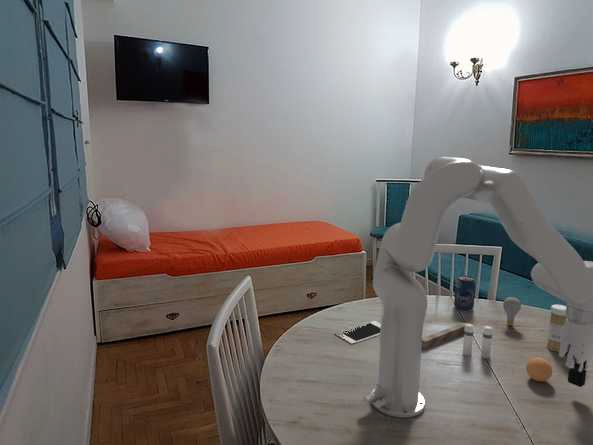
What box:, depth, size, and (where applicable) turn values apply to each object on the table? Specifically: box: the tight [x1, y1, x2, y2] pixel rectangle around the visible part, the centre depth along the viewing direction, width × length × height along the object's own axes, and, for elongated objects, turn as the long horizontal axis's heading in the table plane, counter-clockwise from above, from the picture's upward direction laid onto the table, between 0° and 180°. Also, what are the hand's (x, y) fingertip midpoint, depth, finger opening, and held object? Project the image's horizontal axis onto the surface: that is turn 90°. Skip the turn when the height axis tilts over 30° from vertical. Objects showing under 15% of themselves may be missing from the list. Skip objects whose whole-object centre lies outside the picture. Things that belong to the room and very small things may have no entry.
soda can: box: [453, 275, 477, 313], centre depth 161 cm, size 7×7×12 cm
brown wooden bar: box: [421, 322, 468, 350], centre depth 138 cm, size 22×2×2 cm, turn 125°
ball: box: [525, 357, 553, 383], centre depth 114 cm, size 6×6×6 cm
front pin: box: [480, 325, 494, 360], centre depth 126 cm, size 2×2×9 cm
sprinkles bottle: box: [546, 304, 567, 353], centre depth 130 cm, size 5×5×13 cm
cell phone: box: [340, 320, 381, 345], centre depth 142 cm, size 9×18×1 cm, turn 124°
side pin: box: [462, 323, 475, 357], centre depth 127 cm, size 2×2×9 cm
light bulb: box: [502, 296, 522, 327], centre depth 147 cm, size 6×6×10 cm
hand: (576, 383), depth 107 cm, fingers closed
